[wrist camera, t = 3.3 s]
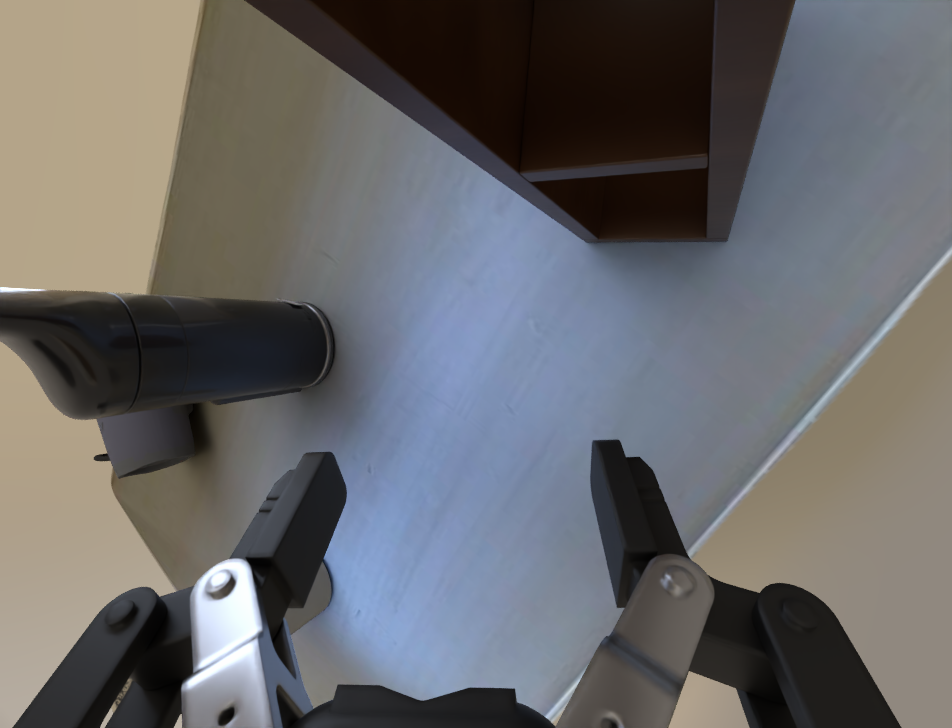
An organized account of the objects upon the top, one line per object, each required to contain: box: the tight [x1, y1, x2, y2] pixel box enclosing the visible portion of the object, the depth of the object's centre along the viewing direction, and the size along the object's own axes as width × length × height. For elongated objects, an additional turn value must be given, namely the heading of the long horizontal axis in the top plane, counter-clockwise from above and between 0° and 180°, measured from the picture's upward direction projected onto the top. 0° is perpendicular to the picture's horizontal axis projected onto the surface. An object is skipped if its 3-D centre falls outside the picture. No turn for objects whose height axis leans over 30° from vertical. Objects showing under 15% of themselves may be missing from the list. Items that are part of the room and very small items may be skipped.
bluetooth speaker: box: [97, 293, 195, 479], centre depth 55 cm, size 23×9×10 cm, turn 24°
